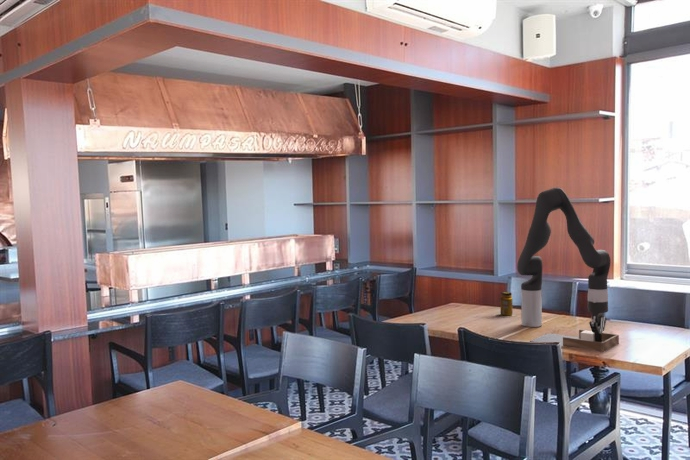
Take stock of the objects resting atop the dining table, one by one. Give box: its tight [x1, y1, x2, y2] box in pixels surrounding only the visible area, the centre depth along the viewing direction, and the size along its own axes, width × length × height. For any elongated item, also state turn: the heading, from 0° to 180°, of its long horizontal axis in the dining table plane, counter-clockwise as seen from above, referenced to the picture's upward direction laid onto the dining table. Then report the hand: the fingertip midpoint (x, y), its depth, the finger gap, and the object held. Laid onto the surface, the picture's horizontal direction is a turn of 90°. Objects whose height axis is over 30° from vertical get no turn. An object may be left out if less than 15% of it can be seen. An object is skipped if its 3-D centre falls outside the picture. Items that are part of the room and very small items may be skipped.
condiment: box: [494, 291, 515, 318], centre depth 305 cm, size 7×8×12 cm
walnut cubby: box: [562, 329, 620, 353], centre depth 238 cm, size 18×16×4 cm
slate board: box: [529, 332, 619, 353], centre depth 243 cm, size 18×30×1 cm, turn 47°
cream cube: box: [581, 329, 595, 341], centre depth 238 cm, size 5×5×5 cm
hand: (598, 342), depth 236 cm, fingers closed
